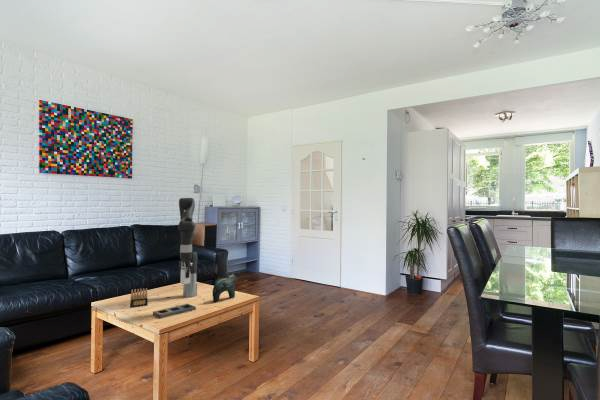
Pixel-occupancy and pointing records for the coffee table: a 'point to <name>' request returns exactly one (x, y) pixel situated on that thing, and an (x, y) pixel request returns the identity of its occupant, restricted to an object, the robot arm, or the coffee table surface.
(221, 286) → the dark green animal figure
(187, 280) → the grey metal block
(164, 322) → the coffee table surface
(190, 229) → the robot arm
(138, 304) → the ammunition clip
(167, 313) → the grey peg board
